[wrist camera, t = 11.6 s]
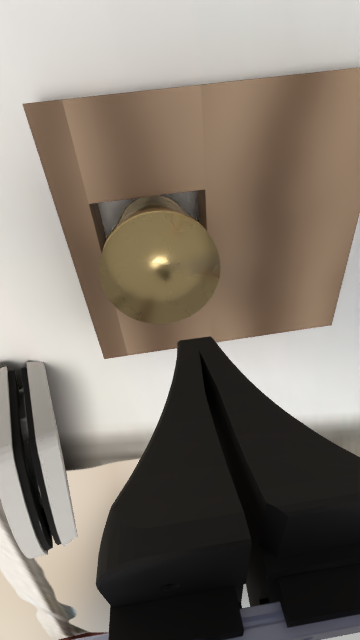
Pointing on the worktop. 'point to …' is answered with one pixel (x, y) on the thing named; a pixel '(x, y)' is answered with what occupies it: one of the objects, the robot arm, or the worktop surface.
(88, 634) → the bucket
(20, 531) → the grey piece
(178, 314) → the bushing
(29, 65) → the worktop surface
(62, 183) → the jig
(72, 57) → the worktop surface
